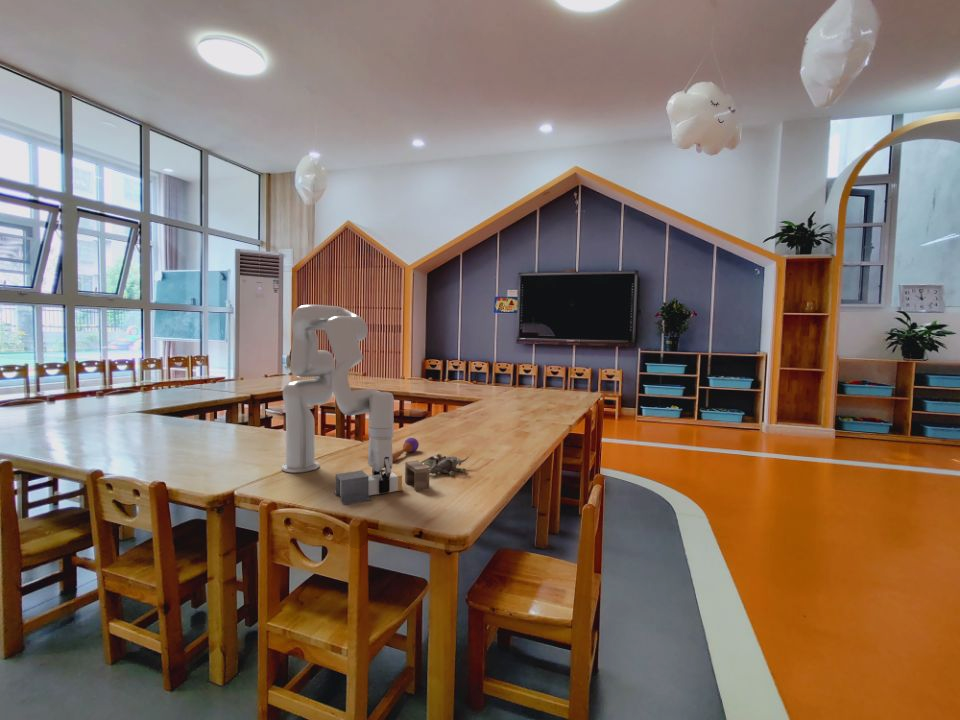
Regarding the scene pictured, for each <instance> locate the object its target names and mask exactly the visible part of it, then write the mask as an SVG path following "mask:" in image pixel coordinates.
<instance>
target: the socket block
mask: <svg viewBox="0 0 960 720" xmlns="http://www.w3.org/2000/svg"><path fill="white" fill-rule="evenodd" d="M421 462H422V461H420V460H411V461H405V462H404V463H405V466H404V468H405V469H404V470H405V471H404V482H405V484H406V485H411V484H413V486H414V487H413V489H414V490H413V491H415V492H421V491H424V490H425V491H426V490H429V489H430V473H429V470H430V469H429V467H430V466H427V465H424V464H423V463H421Z"/></svg>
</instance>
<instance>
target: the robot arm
mask: <svg viewBox="0 0 960 720" xmlns="http://www.w3.org/2000/svg"><path fill="white" fill-rule="evenodd" d="M291 329H292V344H291V352H290V353H291V355H290V363H289V365H290V367H289V368H290V372H291V374H292V375H293V376H294V377H296V378H313V379H302V380H301V379H299V380H293V381H290V382H288V383H286V385H285V386H283V389H282V399H283V404H284V409H285V411H284V412H285V432H286V433H285V439H286V440H285V441H286V443H285V444H286V445H285V447H286V448H285V449H286V452H285V453H286V454H285V455H286V457H285V458H286V459H285V460H286V461H285V463H283V464H282V465H281V470H282V471H283V472H285V473H291V474H292V473H294V474H295V473H296V474H298V473H306V472H312V471H314V470H317V469H318V468H319V467H320V462H318V461H317V460H315V459H316V458H315V456H316V455H315V453H316V452H315V449H316V447H315V438H316V437H315V417H314V414H313V412H312V411H311V409H310V408H309V407H311V406H317V405H324V404H327V403H328V402H329V401H330V400H331V398H332V395H333V397H334V400H335V402H336V405H337V407H338V409H339V411H340V412H341V413H342V414H343V415H345V416H356V415H362V414H368V438H369V439H368V440H369V441H368V449H367V451H368V452H367V455H368V456H367V464H368V466H369V467H371V468H372V469H371V473H372V474H371V476H372V475H379V474H380V480H379V493H381V494H386V492H387V493H390V492H389V491H390V474H391V473H392V468H393V463H392V462H393V456H392V454H393V443H392V441H393V440H392V439H393V437H394V428H395V427H394V424H395V423H394V419H395V418H394V416H395V415H394V413H395V412H394V409H395V408H394V404H395V400H394V399H395V397H394V395H393V393H392V392H388V391H379V390H377V389H374V388H366V389H365V388H364V389H356V390H352V389H351V386H350V384H349V378H348V375H349V371H350V370H351V369H352V368H354V367H355V366H357V365H359V364H360V363H361V362H362V361H363V358H364V357H363V353H362V350H361V348H360V345H359V342H361V341H363V340H365V339H366V337H367V336H368V330H369V329H368V325H367V323H366V321H365V320H364V319H363V317H361V316H359V315H358V314H356V313H354V312H352V311H350V310H348V309H346V308H344V307H342V306H337V305H325V304H303V305H300V306H298V307H297V308H296V309H294V311H293V314H292V316H291ZM317 330H318V331H319V330H321V331H325V334H326V337H327V339H328V341H329V344H330V347H331V351H332V353H331V352H330V351H328V350H326V349H319V338H318V334H317V332H316V331H317ZM383 468H384V469H383Z"/></svg>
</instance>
